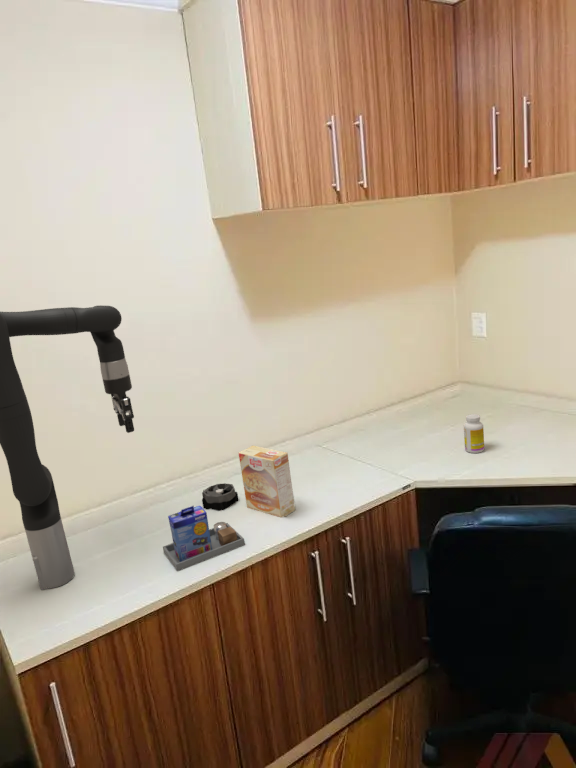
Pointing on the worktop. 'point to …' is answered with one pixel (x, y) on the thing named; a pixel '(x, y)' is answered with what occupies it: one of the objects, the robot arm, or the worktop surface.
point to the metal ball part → (219, 528)
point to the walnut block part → (226, 536)
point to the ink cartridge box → (190, 532)
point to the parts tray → (215, 551)
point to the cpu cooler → (219, 496)
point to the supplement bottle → (473, 434)
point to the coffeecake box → (267, 481)
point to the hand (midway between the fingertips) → (126, 428)
